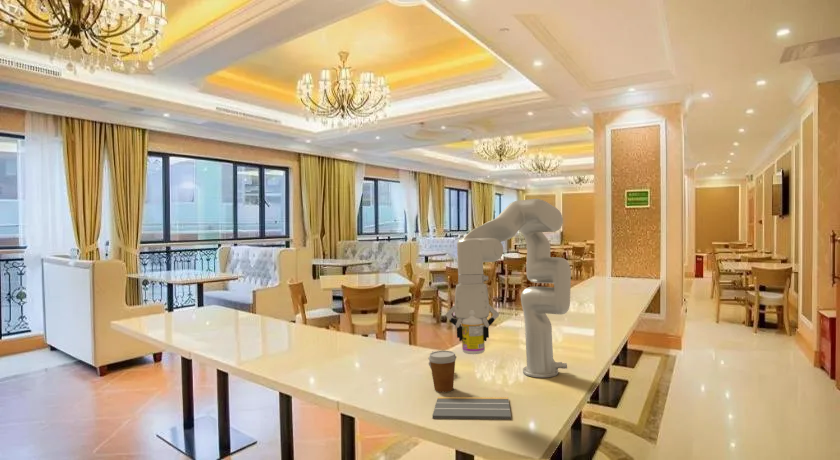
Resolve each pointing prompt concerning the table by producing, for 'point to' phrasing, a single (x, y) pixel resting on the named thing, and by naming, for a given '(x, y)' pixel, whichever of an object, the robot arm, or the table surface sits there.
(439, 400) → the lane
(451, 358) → the disposable coffee cup
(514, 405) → the table surface
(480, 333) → the supplement bottle
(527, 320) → the robot arm
